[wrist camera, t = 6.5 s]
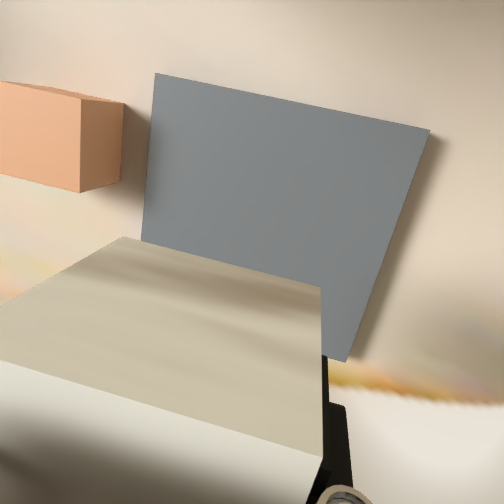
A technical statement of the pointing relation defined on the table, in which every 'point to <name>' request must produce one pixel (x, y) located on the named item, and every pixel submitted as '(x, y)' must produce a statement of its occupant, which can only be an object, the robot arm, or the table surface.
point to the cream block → (160, 383)
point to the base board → (279, 191)
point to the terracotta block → (59, 137)
